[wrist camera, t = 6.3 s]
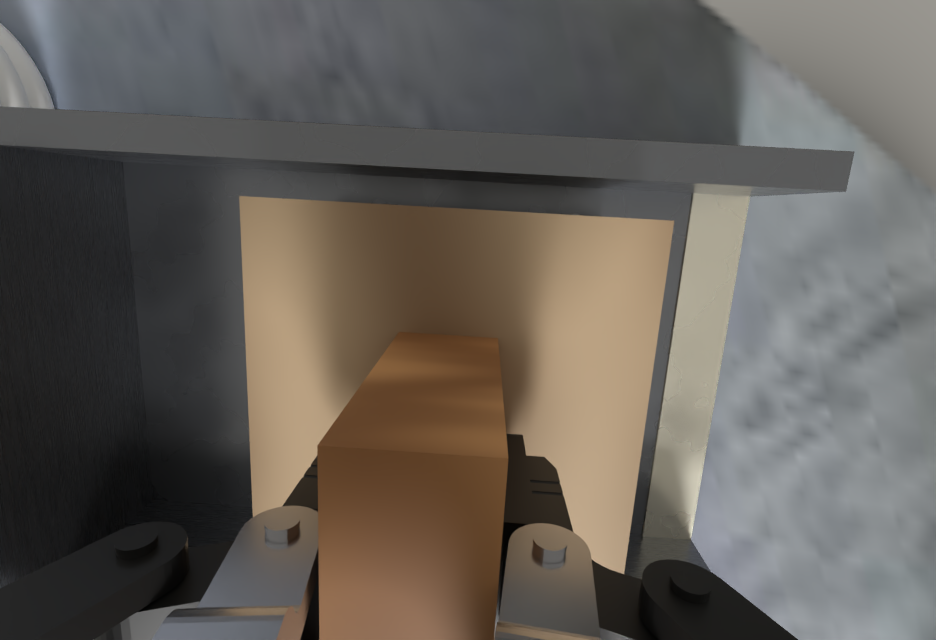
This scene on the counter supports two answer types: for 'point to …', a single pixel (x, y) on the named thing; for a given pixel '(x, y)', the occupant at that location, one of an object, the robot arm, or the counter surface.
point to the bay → (222, 303)
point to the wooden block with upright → (443, 390)
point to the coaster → (20, 76)
